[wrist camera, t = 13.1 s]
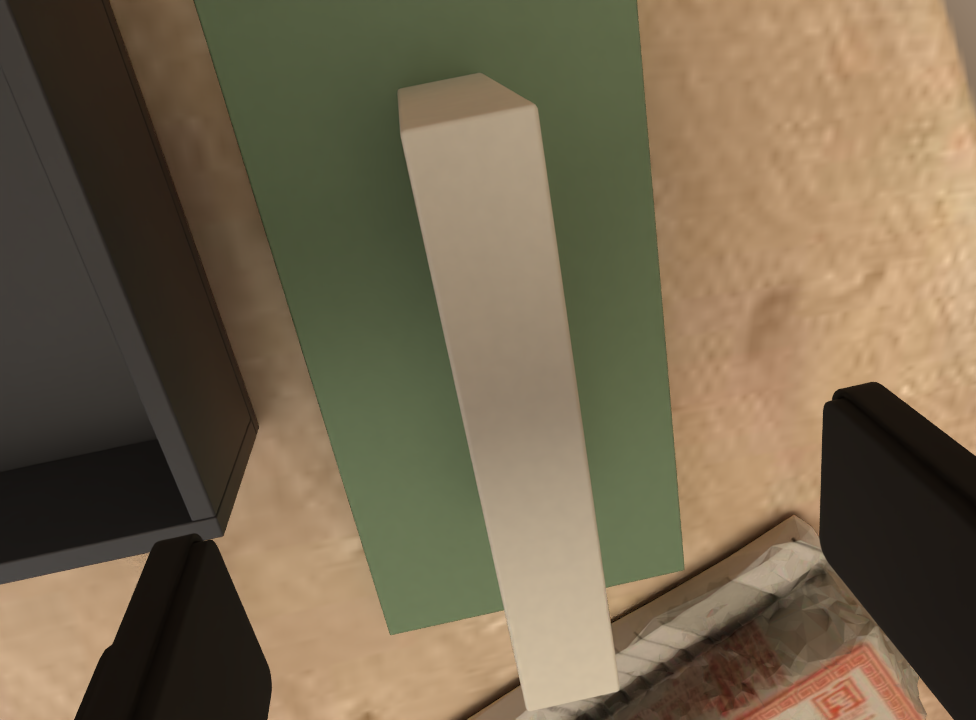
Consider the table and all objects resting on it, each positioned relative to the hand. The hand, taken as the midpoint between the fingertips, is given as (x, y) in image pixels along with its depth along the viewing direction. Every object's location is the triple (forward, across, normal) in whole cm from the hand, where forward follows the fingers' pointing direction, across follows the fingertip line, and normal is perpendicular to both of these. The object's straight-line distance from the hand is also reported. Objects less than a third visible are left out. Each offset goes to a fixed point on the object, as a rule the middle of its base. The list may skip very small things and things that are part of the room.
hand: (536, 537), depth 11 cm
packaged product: (+12, -4, +19) cm, 23 cm away
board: (+11, 0, +1) cm, 11 cm away
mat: (+12, 0, +1) cm, 12 cm away
